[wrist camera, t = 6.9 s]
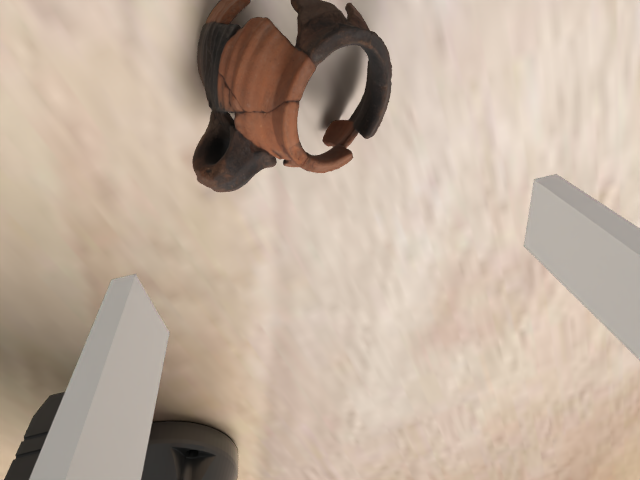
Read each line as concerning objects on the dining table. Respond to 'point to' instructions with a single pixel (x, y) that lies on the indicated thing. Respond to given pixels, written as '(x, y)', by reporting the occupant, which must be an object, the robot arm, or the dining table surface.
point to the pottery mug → (278, 90)
